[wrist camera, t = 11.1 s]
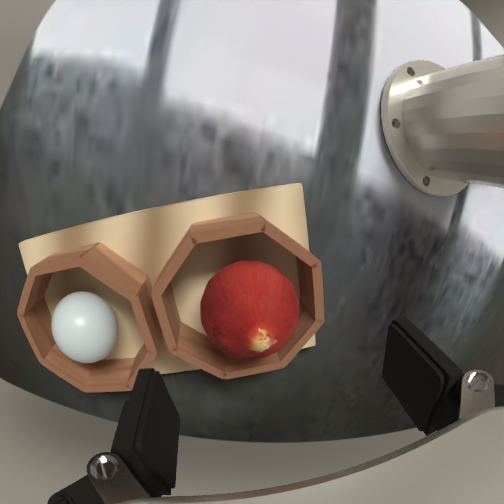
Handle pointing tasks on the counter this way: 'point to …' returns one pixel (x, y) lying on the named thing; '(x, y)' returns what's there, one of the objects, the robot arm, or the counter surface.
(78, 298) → the white ball
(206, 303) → the onion
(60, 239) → the pot board
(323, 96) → the counter surface
